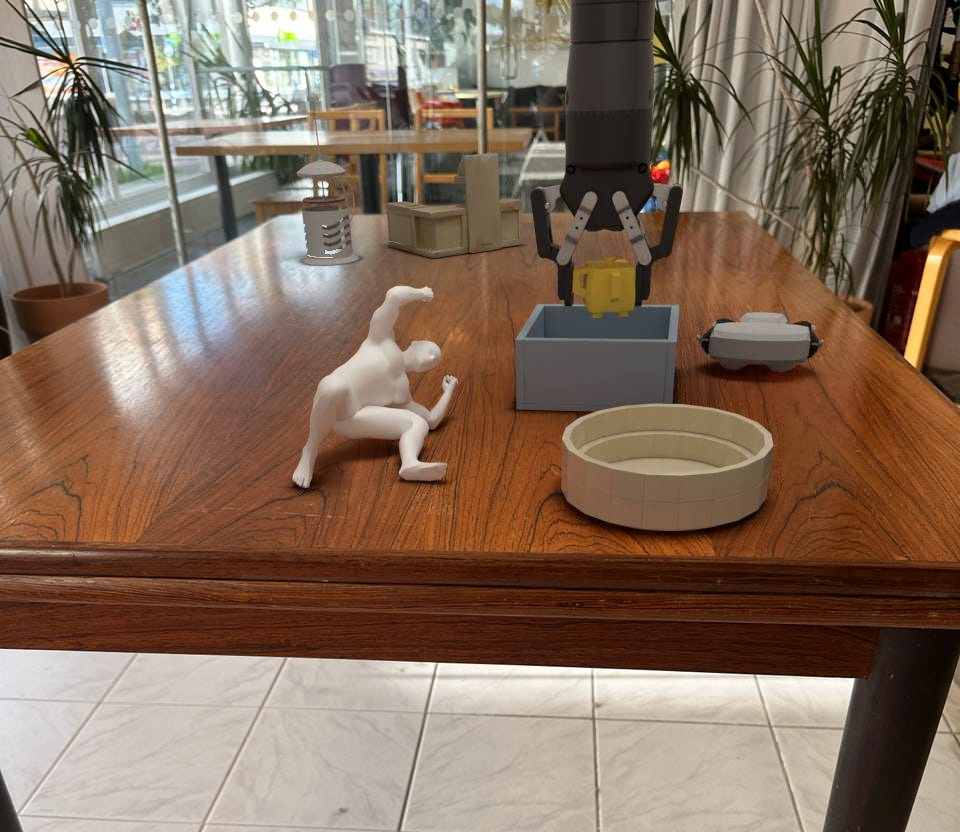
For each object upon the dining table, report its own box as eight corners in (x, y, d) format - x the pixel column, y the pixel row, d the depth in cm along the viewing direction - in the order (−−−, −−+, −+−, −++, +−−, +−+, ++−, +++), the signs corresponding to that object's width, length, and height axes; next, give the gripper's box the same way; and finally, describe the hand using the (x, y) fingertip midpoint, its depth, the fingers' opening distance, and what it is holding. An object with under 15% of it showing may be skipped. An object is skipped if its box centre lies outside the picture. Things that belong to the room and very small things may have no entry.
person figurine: (413, 354, 67) (425, 261, 81) (249, 396, 69) (287, 299, 83) (462, 502, 76) (465, 396, 89) (314, 535, 78) (339, 427, 91)
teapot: (565, 305, 94) (565, 250, 91) (622, 302, 94) (624, 247, 92) (577, 324, 87) (579, 265, 85) (639, 321, 87) (642, 262, 85)
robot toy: (705, 348, 109) (692, 375, 96) (709, 307, 107) (696, 329, 94) (816, 353, 106) (818, 382, 93) (823, 311, 104) (825, 334, 91)
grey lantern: (290, 262, 161) (268, 94, 148) (334, 251, 170) (317, 91, 156) (333, 266, 157) (314, 93, 144) (377, 255, 165) (363, 90, 152)
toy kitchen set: (473, 235, 180) (470, 146, 172) (524, 245, 168) (523, 150, 160) (388, 247, 172) (381, 154, 164) (435, 259, 159) (430, 159, 151)
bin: (674, 369, 99) (679, 304, 96) (671, 414, 87) (676, 341, 84) (537, 366, 102) (537, 303, 99) (516, 409, 90) (515, 339, 86)
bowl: (759, 460, 77) (766, 406, 74) (771, 541, 64) (780, 479, 62) (573, 453, 80) (574, 401, 77) (550, 529, 67) (550, 470, 64)
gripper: (694, 99, 83) (679, 296, 92) (533, 105, 86) (534, 296, 95) (693, 103, 77) (678, 314, 86) (520, 109, 80) (523, 313, 89)
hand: (603, 304), depth 90 cm, fingers closed on teapot, 6 cm apart
